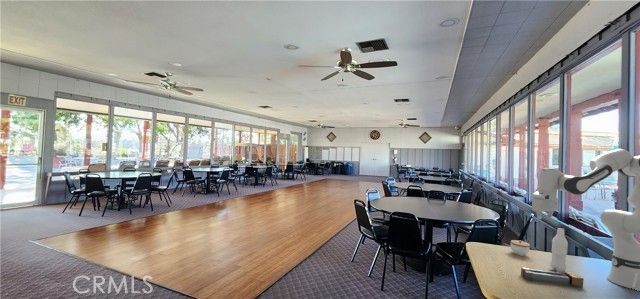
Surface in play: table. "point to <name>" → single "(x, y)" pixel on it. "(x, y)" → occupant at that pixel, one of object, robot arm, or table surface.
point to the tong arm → (541, 272)
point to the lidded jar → (520, 247)
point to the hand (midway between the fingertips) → (544, 218)
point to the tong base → (556, 278)
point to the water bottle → (559, 251)
